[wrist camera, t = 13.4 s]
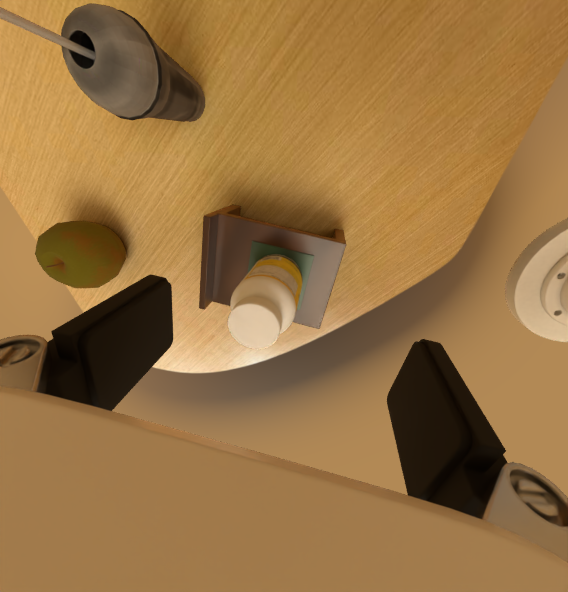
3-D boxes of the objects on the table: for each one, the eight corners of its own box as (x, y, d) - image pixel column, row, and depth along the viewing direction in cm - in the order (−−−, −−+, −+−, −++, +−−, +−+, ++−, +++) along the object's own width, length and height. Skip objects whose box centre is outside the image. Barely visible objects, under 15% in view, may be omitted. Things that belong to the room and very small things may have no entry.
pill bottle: (266, 306, 35) (239, 365, 24) (243, 263, 33) (202, 308, 22) (311, 290, 33) (302, 347, 22) (290, 243, 30) (269, 282, 20)
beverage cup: (209, 143, 34) (76, 116, 16) (157, 122, 34) (-35, 72, 16) (221, 74, 30) (69, -54, 13) (163, 51, 30) (-72, -111, 13)
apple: (74, 247, 44) (3, 269, 35) (92, 201, 40) (15, 212, 30) (126, 284, 46) (71, 315, 36) (147, 243, 42) (91, 266, 32)
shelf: (343, 230, 36) (347, 249, 27) (321, 304, 42) (318, 339, 33) (232, 204, 37) (203, 215, 28) (225, 280, 42) (198, 308, 34)
